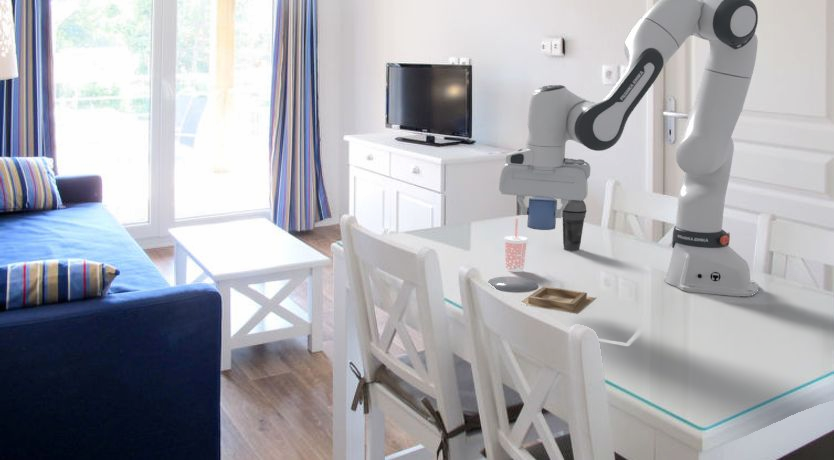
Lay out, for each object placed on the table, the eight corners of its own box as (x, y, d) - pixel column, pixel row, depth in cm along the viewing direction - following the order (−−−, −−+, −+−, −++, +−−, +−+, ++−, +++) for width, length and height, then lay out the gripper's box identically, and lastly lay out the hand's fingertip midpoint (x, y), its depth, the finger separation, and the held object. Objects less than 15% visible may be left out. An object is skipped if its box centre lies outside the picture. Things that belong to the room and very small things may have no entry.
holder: (595, 300, 208) (596, 292, 207) (577, 316, 196) (577, 307, 195) (539, 291, 214) (539, 283, 214) (518, 306, 202) (518, 297, 201)
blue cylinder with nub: (548, 231, 202) (550, 203, 201) (522, 227, 206) (524, 199, 204) (564, 224, 210) (566, 197, 209) (539, 220, 213) (541, 194, 212)
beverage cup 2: (557, 245, 261) (561, 178, 256) (582, 246, 260) (586, 179, 256) (560, 251, 254) (564, 183, 249) (585, 252, 253) (590, 183, 249)
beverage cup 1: (517, 267, 236) (519, 215, 233) (531, 272, 230) (533, 220, 227) (498, 270, 233) (500, 217, 230) (511, 275, 227) (513, 222, 224)
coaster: (543, 284, 220) (544, 280, 219) (526, 296, 209) (526, 292, 209) (499, 277, 225) (499, 274, 225) (480, 289, 215) (480, 285, 214)
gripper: (592, 158, 203) (588, 217, 206) (504, 152, 208) (501, 209, 211) (589, 162, 197) (585, 222, 200) (499, 155, 202) (496, 214, 205)
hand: (541, 216), depth 206 cm, fingers closed on blue cylinder with nub, 6 cm apart
